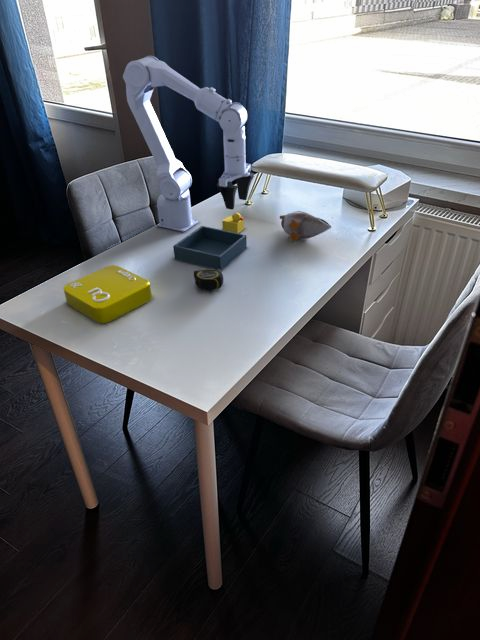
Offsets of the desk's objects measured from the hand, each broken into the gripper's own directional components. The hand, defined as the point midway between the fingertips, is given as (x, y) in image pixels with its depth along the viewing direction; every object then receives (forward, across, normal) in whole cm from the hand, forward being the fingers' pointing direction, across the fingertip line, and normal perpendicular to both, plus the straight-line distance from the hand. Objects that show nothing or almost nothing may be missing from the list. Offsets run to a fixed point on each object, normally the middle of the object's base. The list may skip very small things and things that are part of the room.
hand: (236, 203), depth 142 cm
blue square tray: (+8, -15, 0) cm, 18 cm away
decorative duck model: (+9, +7, -18) cm, 21 cm away
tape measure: (+9, -30, -8) cm, 33 cm away
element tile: (+9, -46, +8) cm, 48 cm away
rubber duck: (+8, +1, +2) cm, 9 cm away
